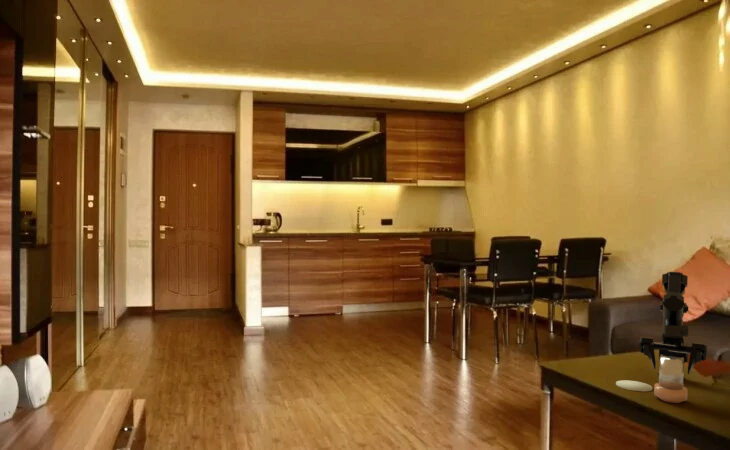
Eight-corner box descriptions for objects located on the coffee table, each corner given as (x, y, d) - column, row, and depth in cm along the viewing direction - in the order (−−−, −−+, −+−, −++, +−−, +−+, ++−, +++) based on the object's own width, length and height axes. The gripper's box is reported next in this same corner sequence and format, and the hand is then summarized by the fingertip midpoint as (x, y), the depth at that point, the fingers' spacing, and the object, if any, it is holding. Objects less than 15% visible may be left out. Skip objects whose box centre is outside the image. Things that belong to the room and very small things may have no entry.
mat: (638, 381, 192) (638, 380, 192) (659, 391, 181) (659, 389, 181) (609, 381, 190) (609, 380, 190) (628, 391, 179) (628, 390, 179)
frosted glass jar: (673, 383, 176) (674, 355, 175) (688, 390, 169) (688, 360, 169) (654, 384, 175) (655, 355, 175) (668, 390, 168) (669, 360, 168)
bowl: (673, 395, 177) (674, 382, 177) (694, 404, 168) (694, 391, 168) (647, 395, 176) (648, 382, 176) (666, 404, 167) (667, 391, 167)
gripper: (640, 312, 181) (637, 351, 171) (707, 318, 172) (708, 360, 162) (641, 332, 188) (638, 371, 178) (705, 339, 179) (705, 381, 169)
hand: (671, 370), depth 172 cm, fingers open, 9 cm apart
